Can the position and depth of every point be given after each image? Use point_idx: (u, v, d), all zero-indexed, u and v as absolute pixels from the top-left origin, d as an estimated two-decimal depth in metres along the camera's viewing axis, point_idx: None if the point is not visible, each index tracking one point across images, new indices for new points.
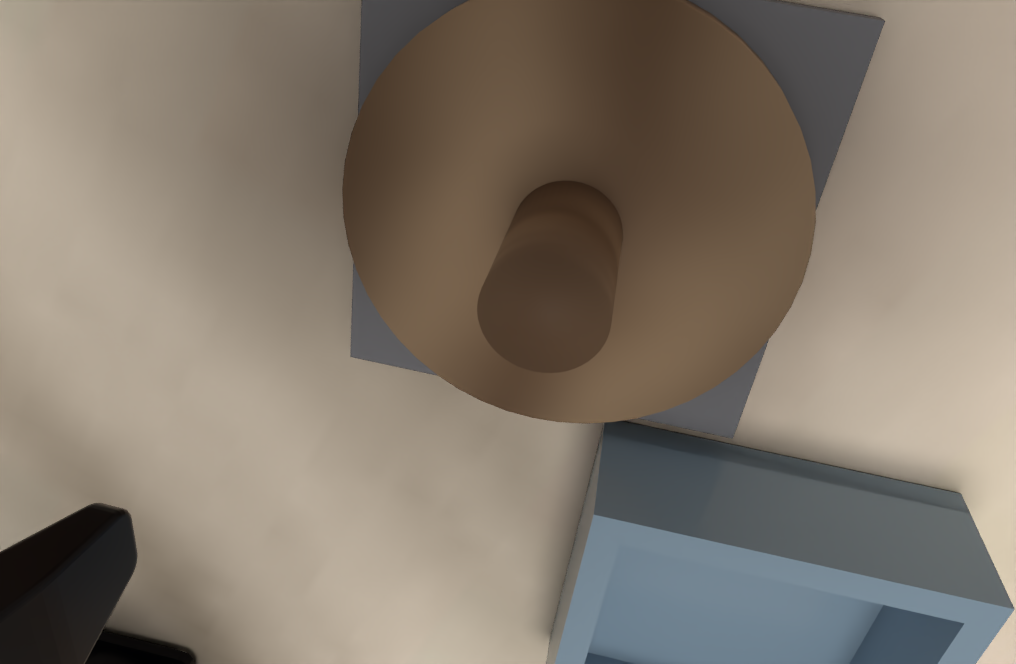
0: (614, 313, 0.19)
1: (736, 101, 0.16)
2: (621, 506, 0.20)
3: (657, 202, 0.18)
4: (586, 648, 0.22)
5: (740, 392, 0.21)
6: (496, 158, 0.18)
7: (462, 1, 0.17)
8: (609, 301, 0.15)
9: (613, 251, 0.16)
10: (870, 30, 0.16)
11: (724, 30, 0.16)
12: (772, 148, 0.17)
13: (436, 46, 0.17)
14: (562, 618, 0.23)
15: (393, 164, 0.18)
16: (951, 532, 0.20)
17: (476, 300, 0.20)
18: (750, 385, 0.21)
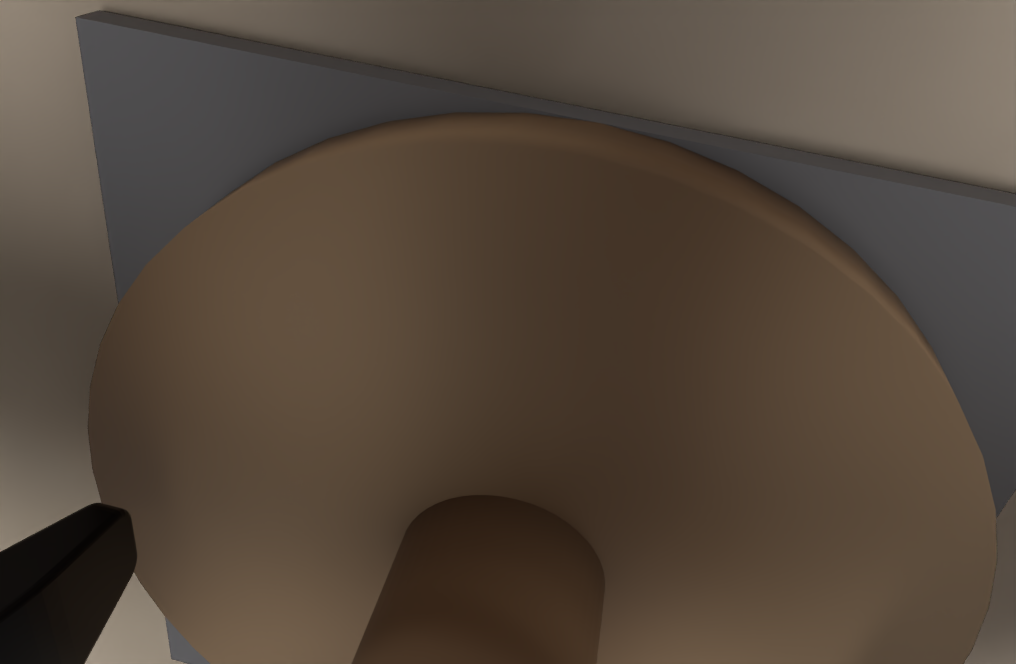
0: None
1: (846, 400, 0.08)
2: None
3: (672, 545, 0.09)
4: None
5: None
6: (361, 449, 0.09)
7: (285, 154, 0.08)
8: None
9: None
10: None
11: (832, 265, 0.07)
12: (915, 482, 0.08)
13: (222, 255, 0.08)
14: None
15: (174, 441, 0.10)
16: None
17: (347, 645, 0.11)
18: None
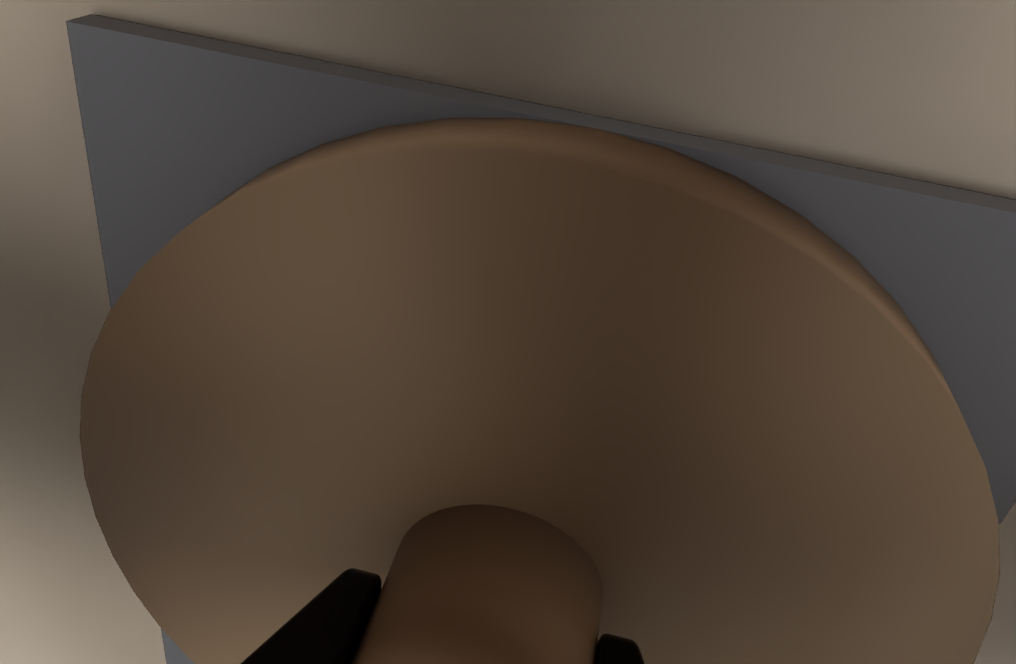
0: None
1: (847, 409, 0.08)
2: None
3: (670, 556, 0.09)
4: None
5: None
6: (356, 458, 0.09)
7: (278, 160, 0.08)
8: None
9: None
10: None
11: (833, 274, 0.07)
12: (917, 494, 0.08)
13: (214, 262, 0.08)
14: None
15: (167, 449, 0.10)
16: None
17: None
18: None
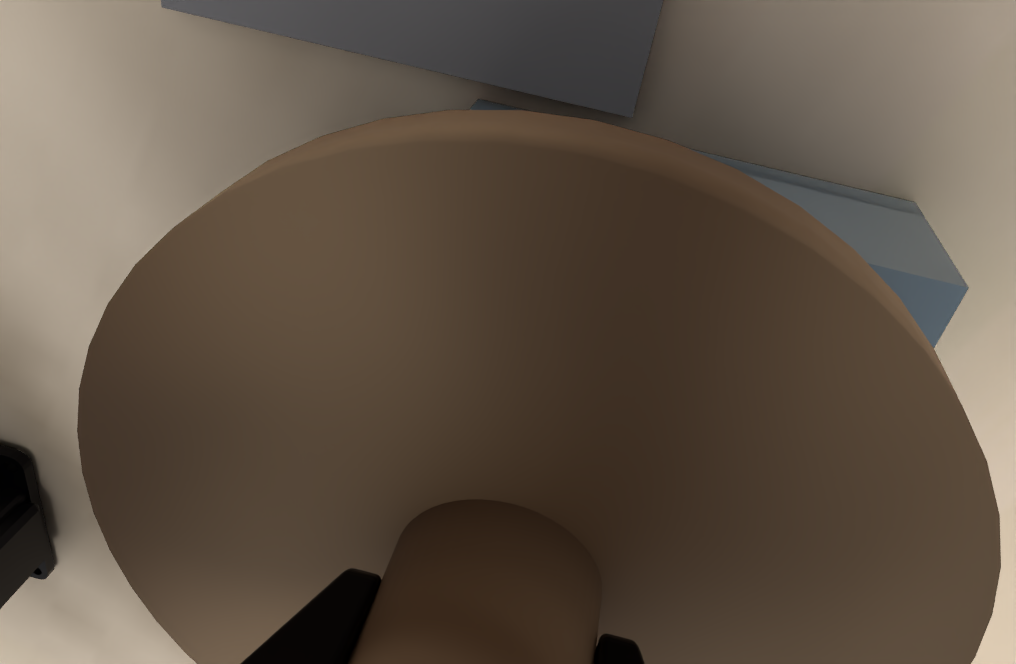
0: None
1: (848, 403, 0.07)
2: None
3: (670, 551, 0.09)
4: None
5: (640, 44, 0.16)
6: (354, 453, 0.09)
7: None
8: None
9: None
10: None
11: (834, 266, 0.07)
12: (918, 488, 0.08)
13: (212, 255, 0.08)
14: None
15: (164, 444, 0.10)
16: (897, 225, 0.16)
17: None
18: (652, 32, 0.16)
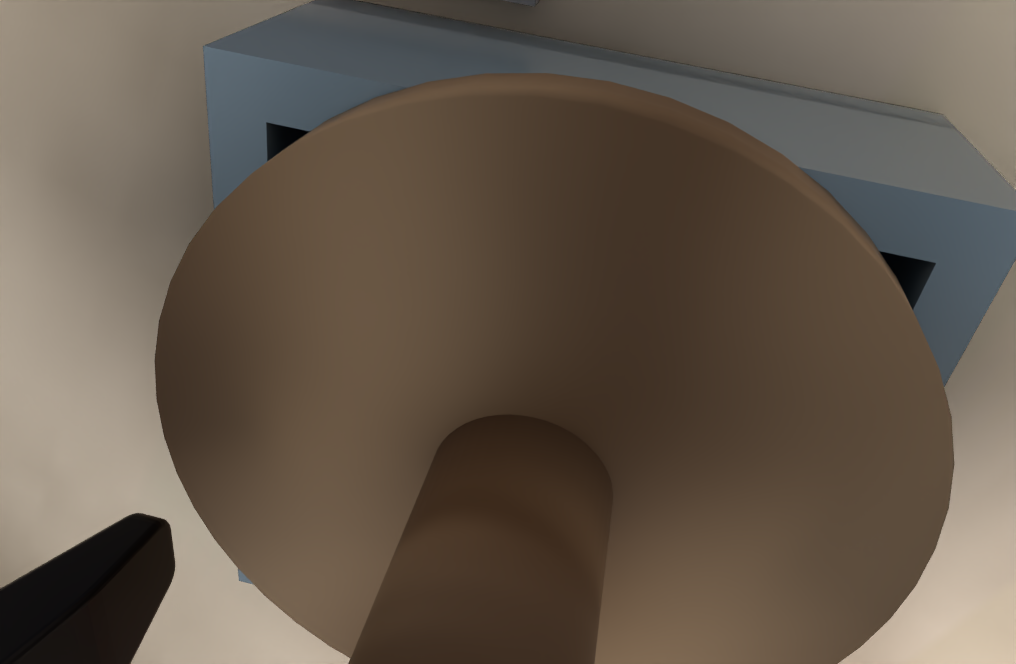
0: None
1: (822, 318, 0.09)
2: (271, 47, 0.10)
3: (672, 458, 0.10)
4: None
5: None
6: (399, 374, 0.10)
7: None
8: None
9: (591, 587, 0.09)
10: None
11: (808, 199, 0.08)
12: (882, 394, 0.09)
13: (283, 198, 0.09)
14: None
15: (232, 371, 0.11)
16: (920, 139, 0.11)
17: (380, 562, 0.12)
18: None
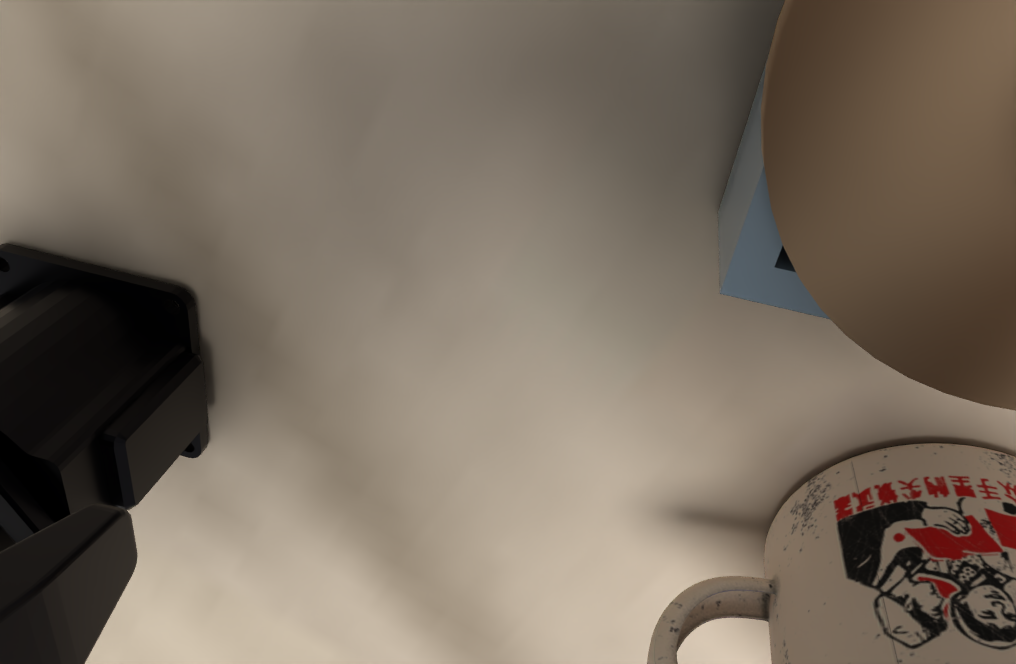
0: None
1: None
2: None
3: None
4: None
5: None
6: None
7: None
8: None
9: None
10: None
11: None
12: None
13: None
14: None
15: None
16: None
17: (957, 220, 0.13)
18: None
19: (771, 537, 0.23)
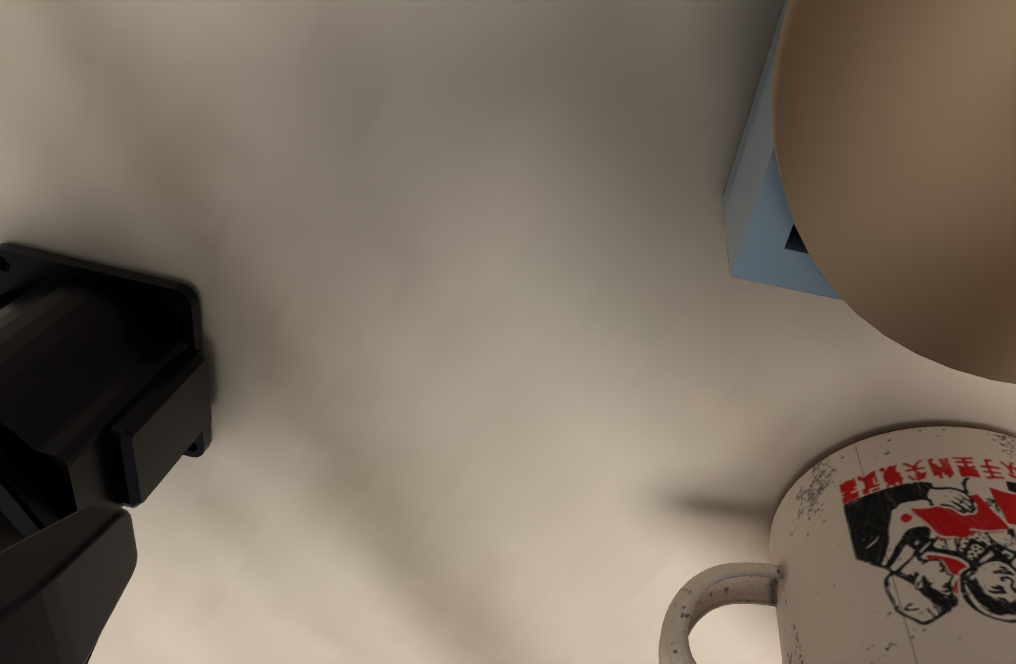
0: None
1: None
2: None
3: None
4: None
5: None
6: None
7: None
8: None
9: None
10: None
11: None
12: None
13: None
14: None
15: None
16: None
17: (966, 197, 0.13)
18: None
19: (776, 523, 0.23)
